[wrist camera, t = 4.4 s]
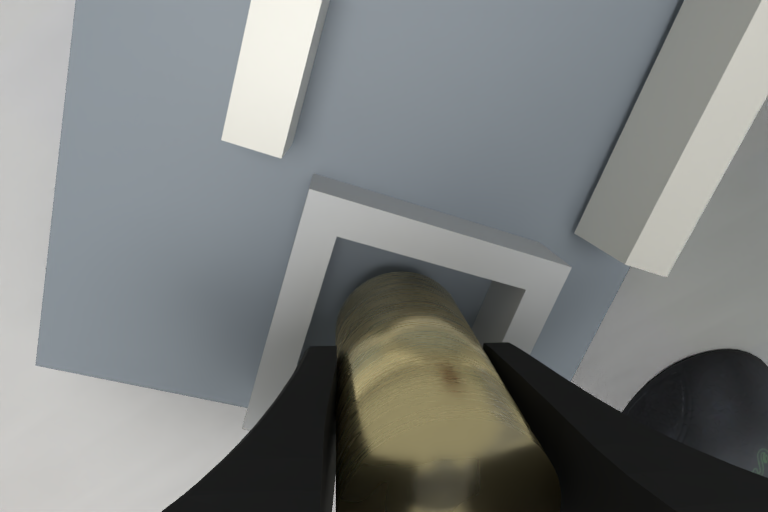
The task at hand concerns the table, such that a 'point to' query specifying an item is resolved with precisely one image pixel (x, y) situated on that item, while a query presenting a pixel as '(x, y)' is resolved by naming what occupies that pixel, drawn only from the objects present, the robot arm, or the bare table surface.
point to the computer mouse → (711, 407)
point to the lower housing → (633, 149)
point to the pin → (427, 410)
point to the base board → (333, 183)
